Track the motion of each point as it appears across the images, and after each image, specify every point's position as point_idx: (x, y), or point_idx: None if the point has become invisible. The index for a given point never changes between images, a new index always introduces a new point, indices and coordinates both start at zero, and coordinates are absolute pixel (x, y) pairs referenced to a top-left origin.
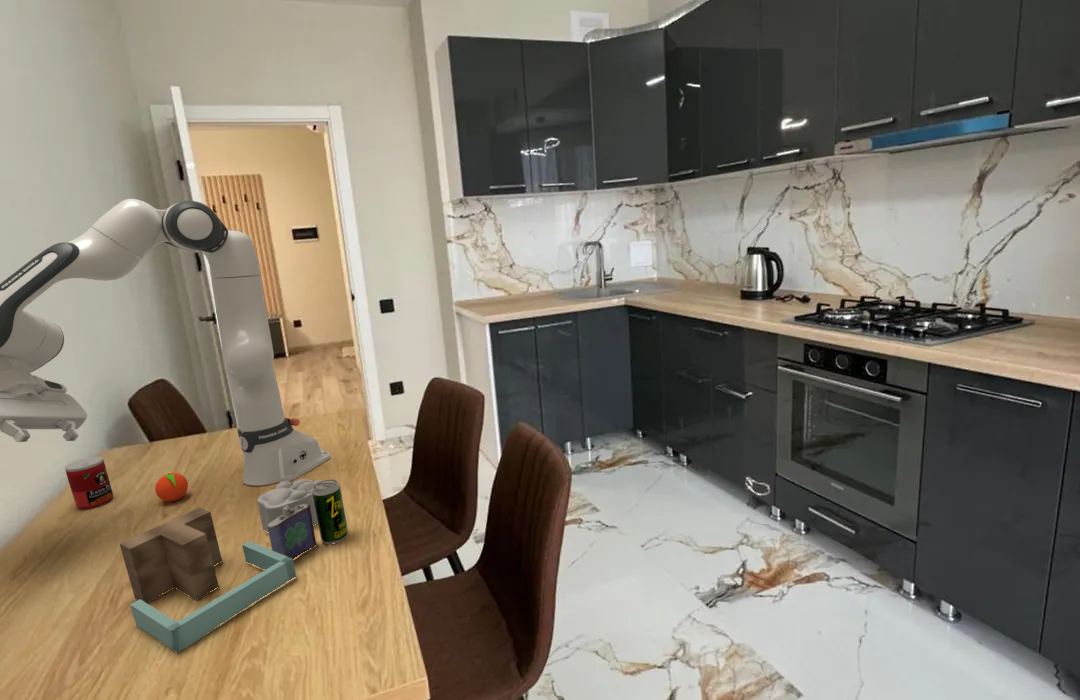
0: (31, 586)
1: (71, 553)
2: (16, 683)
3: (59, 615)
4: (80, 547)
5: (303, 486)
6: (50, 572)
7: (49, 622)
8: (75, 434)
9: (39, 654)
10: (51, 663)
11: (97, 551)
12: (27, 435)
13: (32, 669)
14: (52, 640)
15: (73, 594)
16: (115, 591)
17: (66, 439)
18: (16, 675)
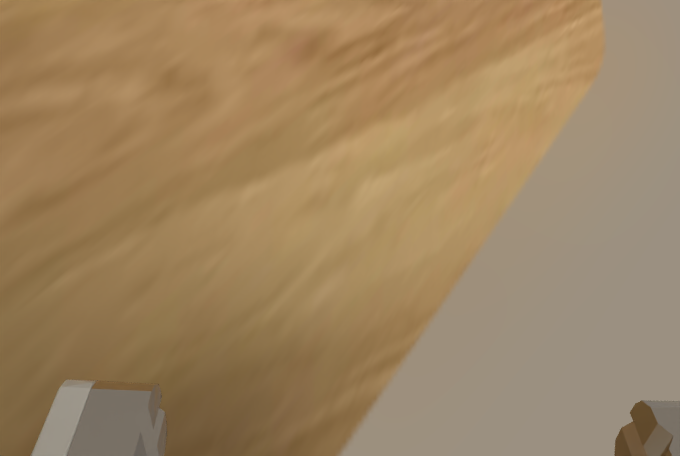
0: (327, 381)
1: None
2: (593, 63)
3: (434, 151)
4: None
5: None
6: (254, 396)
7: (457, 154)
8: (98, 387)
9: (536, 83)
10: (552, 34)
11: (120, 336)
12: (675, 405)
13: (566, 61)
14: (503, 90)
15: (358, 191)
16: (343, 68)
17: (164, 448)
18: (580, 81)
